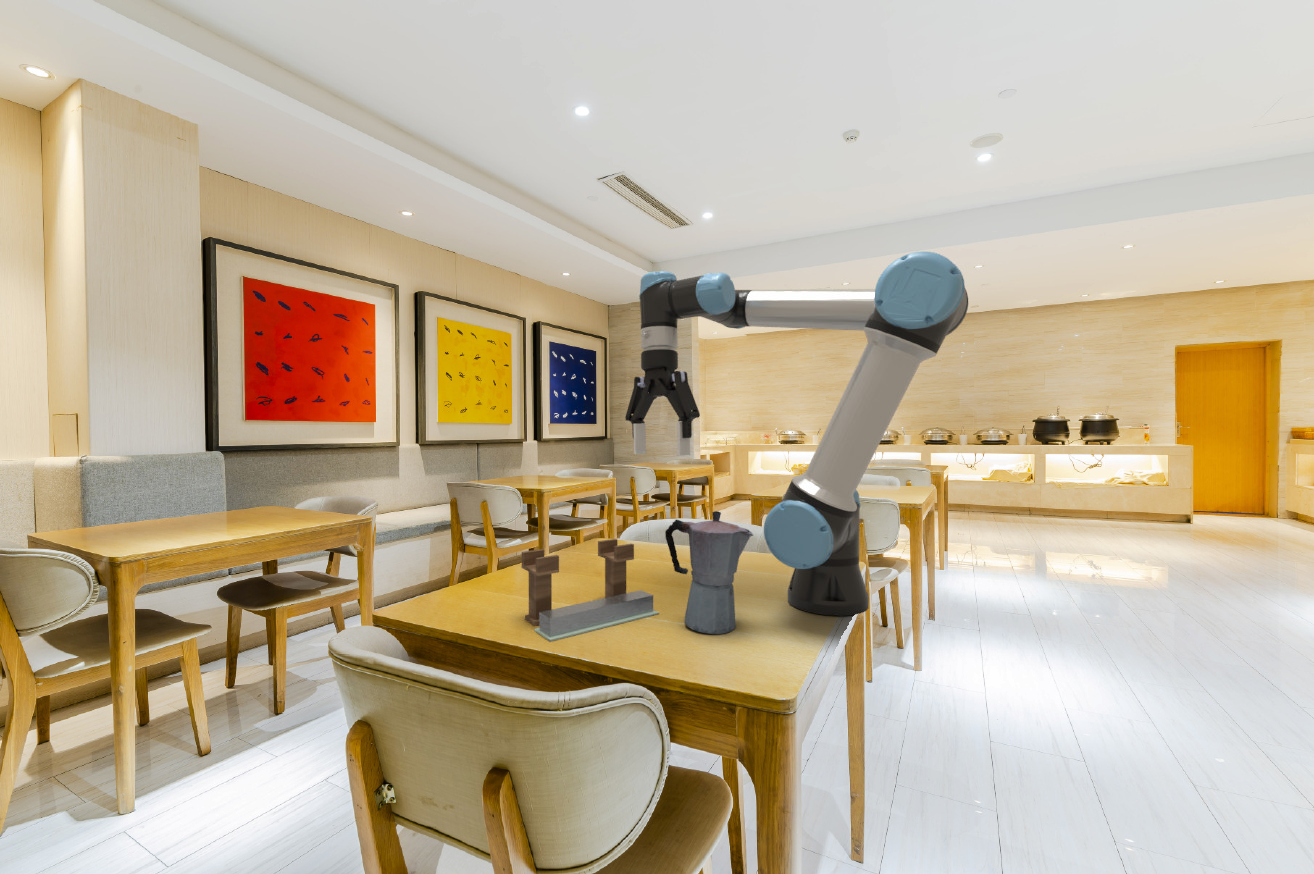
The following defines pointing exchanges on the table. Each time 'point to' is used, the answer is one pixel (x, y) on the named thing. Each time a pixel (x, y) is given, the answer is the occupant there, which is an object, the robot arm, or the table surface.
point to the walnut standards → (547, 565)
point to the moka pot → (710, 571)
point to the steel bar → (594, 613)
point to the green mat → (595, 627)
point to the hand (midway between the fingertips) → (660, 454)
